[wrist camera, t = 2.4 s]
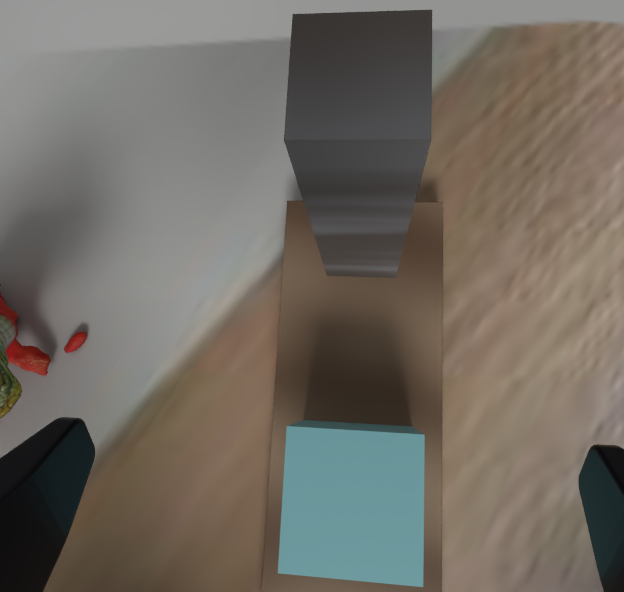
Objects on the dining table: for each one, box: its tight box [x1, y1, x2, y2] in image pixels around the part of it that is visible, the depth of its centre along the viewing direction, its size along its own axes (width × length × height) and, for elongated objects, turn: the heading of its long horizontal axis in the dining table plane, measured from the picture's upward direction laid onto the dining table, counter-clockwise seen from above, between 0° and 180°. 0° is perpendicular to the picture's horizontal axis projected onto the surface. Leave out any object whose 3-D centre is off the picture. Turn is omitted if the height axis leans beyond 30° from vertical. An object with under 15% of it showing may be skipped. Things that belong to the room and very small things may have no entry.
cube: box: [278, 420, 425, 587], centre depth 18 cm, size 4×4×4 cm
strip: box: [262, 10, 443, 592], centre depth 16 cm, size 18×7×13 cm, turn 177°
